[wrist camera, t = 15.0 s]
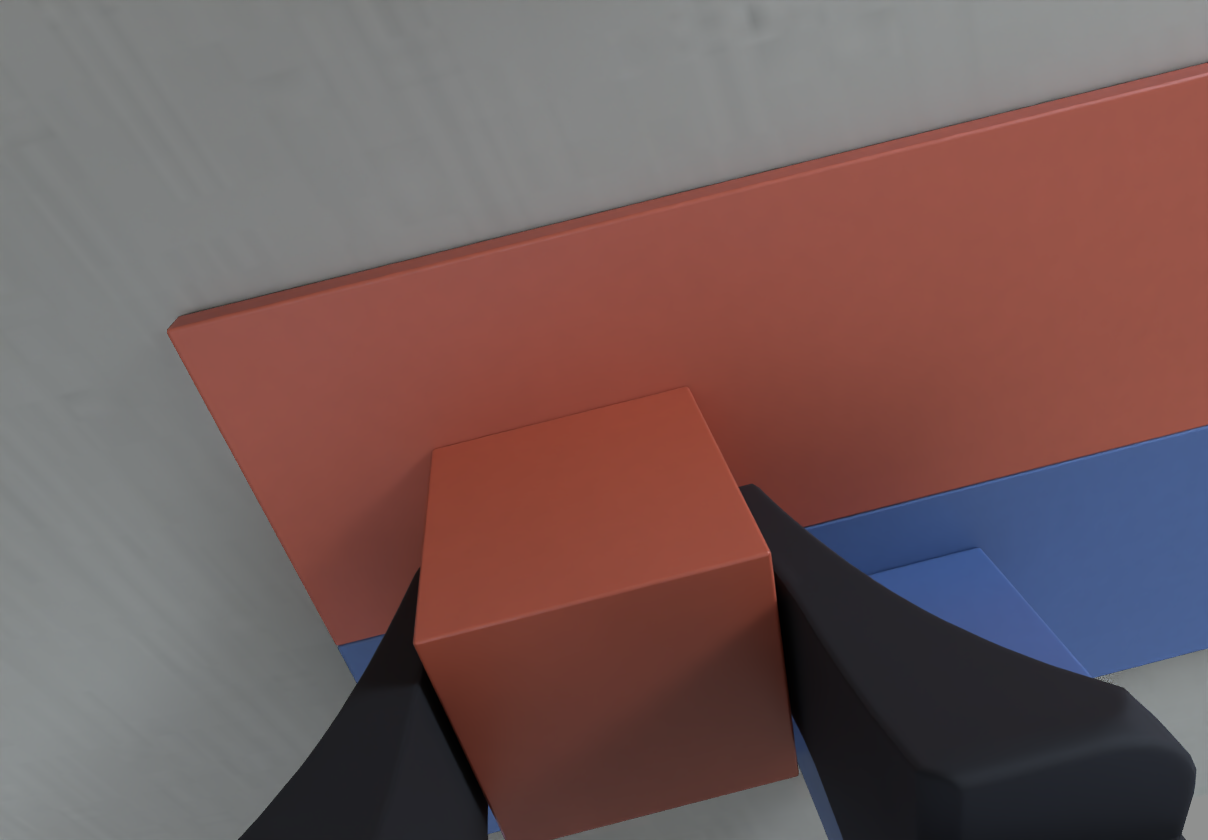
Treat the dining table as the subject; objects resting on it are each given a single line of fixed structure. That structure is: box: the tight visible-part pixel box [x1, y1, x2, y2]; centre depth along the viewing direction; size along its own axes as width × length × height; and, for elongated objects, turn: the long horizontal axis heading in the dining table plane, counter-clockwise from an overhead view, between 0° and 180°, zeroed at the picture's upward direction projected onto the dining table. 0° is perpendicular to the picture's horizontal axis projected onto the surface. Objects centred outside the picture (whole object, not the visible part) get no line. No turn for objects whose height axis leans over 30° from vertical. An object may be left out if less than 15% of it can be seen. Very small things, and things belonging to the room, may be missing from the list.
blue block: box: [792, 548, 1092, 840], centre depth 16 cm, size 5×5×5 cm
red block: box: [413, 387, 799, 840], centre depth 13 cm, size 5×5×5 cm
